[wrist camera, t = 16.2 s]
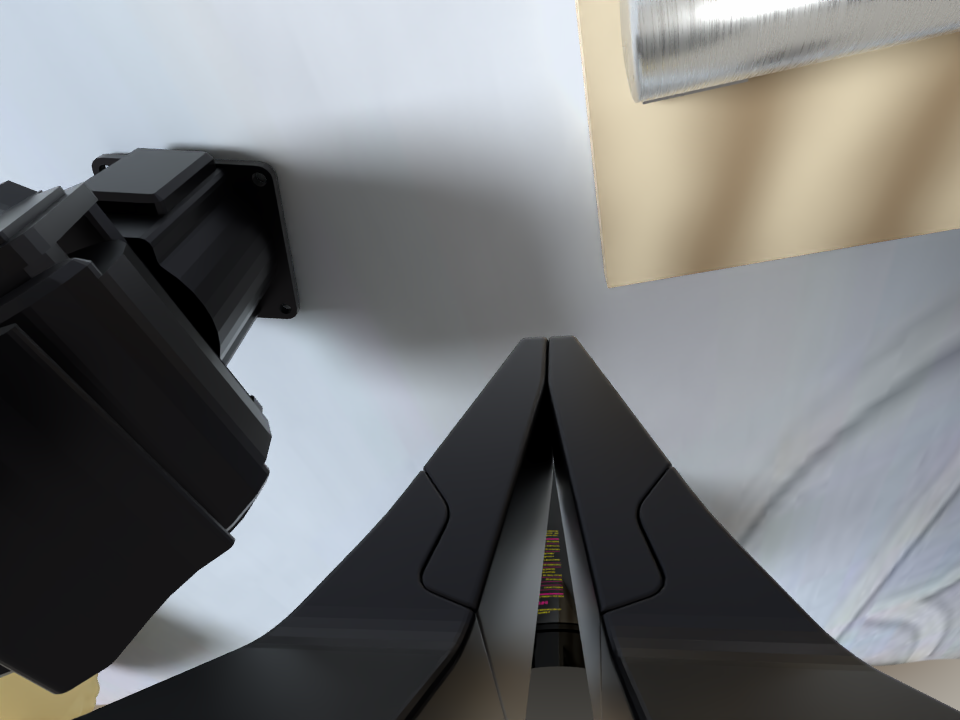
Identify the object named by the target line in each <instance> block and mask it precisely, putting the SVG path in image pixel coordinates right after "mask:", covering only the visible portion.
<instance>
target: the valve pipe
mask: <svg viewBox="0 0 960 720" xmlns="http://www.w3.org/2000/svg"><path fill="white" fill-rule="evenodd" d="M620 24H621V37H622V47H623V56H624V63H625V69H626V75H627V80H628V85H629V89H630V92H631V95H632V98H633V100H634V102H635V103H639V102H642V104H648V103H652V102H657V101H661V100H666V99H670V98H675V97H679V96H684V95H689V94H693V93H698V92H702V91H707V90H711V89H716V88H720V87H725V86H729V85H734V84H739V83H743V82H748V78H752V77H757V76H761V75H766V74H770V73H775V72H779V71H784V70H788V69H793V68H797V67H802V66H806V65H811V64H815V63H820V62H824V61H829V60H833V59H838V58H842V57H847V56H852V55H856V54H861V53H865V52H870V51H874V50H879V49H883V48H888V47H892V46H897V45H901V44H906V43H910V42H915V41H919V40H924V39H928V38H933V37H937V36H942V35H946V34H951V33H956V32H960V0H620Z"/></svg>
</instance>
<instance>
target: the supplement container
mask: <svg viewBox="0 0 960 720" xmlns="http://www.w3.org/2000/svg"><path fill="white" fill-rule="evenodd" d="M525 720H594V718H593V711H592V705H591V699H590V693H589V686H588V680H587V674H586V667H585V661H584V655H583V649H582V642H581V636H580V630H579V623H578V617H577V611H576V604H575V598H574V592H573V586H572V579H571V573H570V567H569V560H568V554H567V548H566V542H565V535H564V529H563V523H562V516H561V510H560V504H559V498H558V491H557V485H556V477H555V469H554V466H553V479H552V489H551V498H550V506H549V515H548V524H547V533H546V542H545V550H544V559H543V568H542V577H541V586H540V594H539V603H538V612H537V621H536V630H535V638H534V647H533V656H532V665H531V674H530V682H529V691H528V700H527V709H526V718H525Z"/></svg>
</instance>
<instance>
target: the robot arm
mask: <svg viewBox="0 0 960 720" xmlns="http://www.w3.org/2000/svg"><path fill="white" fill-rule="evenodd" d="M105 165H108V166H109V167H107V168H106V167H105ZM92 170H93V173H94V176H93V177H91V178H90V179H88V180H87V181H85V182H83V183H80V184H78V185H75V186H73V187H70V188H68V189H66V190H63V189H62V188H61V186H58V187H55V188H52V189H49V190H47V191H44V192H43V191H42V190H41V191H38V192H37V191H34V190H31V189H29V188H26V187H24V186H21V185H19V184H16V183H14V182H11V181H6V182H4V183H1V184H0V678H1V677H3V676H6V675H9V674H11V673H16V674H18V675H20V676H22V677H23V678H25V679H27V680H29V681H31V682H32V683H34V684H36V685H38V686H40V687H42V688H43V689H45V690H47V691H49V692H51V693H52V694H56V695H57V694H63V693H66V692H68V691H70V690H72V689H73V688H75V687H76V686H78V685H80V684H81V683H83V682H84V681H86V680H88V679H89V678H91V677H92V676H94V675H96V674H97V673H99V672H100V671H102V670H104V669H105V668H107V667H108V666H109V665H111V664H112V663H113V662H114V661H115V660H116V659H117V657H118V656H119V655H120V654H121V653H122V651H123V650H124V649H125V648H126V647H127V645H128V644H129V643H130V642H131V641H132V639H133V638H134V637H135V636H136V635H137V633H138V632H139V631H140V630H141V629H142V627H143V626H144V625H145V624H146V623H147V621H148V620H149V619H150V618H151V616H152V615H153V614H154V613H155V612H156V611H157V610H158V609H159V608H160V606H161V605H162V604H163V603H164V602H165V601H166V600H167V599H168V598H169V596H170V595H172V594H173V593H174V592H175V591H176V590H177V589H178V588H179V587H180V586H182V585H183V584H184V583H185V582H186V581H187V580H188V579H189V578H190V577H192V576H193V575H194V574H195V573H196V572H197V571H198V570H200V569H201V568H203V567H204V566H205V565H207V564H208V563H210V562H211V561H213V560H214V559H216V558H217V557H218V556H220V555H221V554H223V553H224V552H226V551H227V550H229V549H230V548H231V547H232V546H233V544H234V542H235V538H234V537H233V536H232V535H231V534H230V532H231V531H232V530H233V529H234V528H235V527H236V526H237V525H238V524H239V522H240V521H241V520H242V519H243V518H244V516H245V515H246V513H247V512H248V510H249V509H250V507H251V506H252V504H253V502H254V501H255V499H256V498H257V496H258V495H259V493H260V491H261V490H262V488H263V486H264V485H265V483H266V481H267V478H268V476H269V472H270V471H269V468H268V467H267V466H266V465H265V461H266V458H267V454H268V450H269V446H270V442H271V438H272V435H271V431H270V427H269V423H268V420H267V418H266V417H265V416H264V415H263V413H262V409H263V408H262V406H261V405H260V403H259V402H258V401H257V400H256V398H255V397H254V396H252V395H251V396H250V395H249V394H248V393H247V392H246V390H245V389H244V388H243V387H242V385H241V384H240V383H239V382H238V380H237V379H236V378H235V377H234V375H233V374H232V373H231V372H230V370H229V369H228V368H227V367H226V366H227V365H228V363H229V361H230V360H231V358H232V357H233V355H234V353H235V352H236V350H237V349H238V347H239V345H240V344H241V342H242V340H243V339H244V337H245V336H246V334H247V332H248V331H249V329H250V328H251V326H252V324H253V323H254V321H255V320H256V318H257V317H261V318H279V319H291V318H293V317H295V316H296V314H297V312H298V310H299V309H300V302H299V297H298V291H297V286H296V280H295V275H294V269H293V264H292V258H291V253H290V247H289V241H288V236H287V230H286V225H285V219H284V214H283V208H282V203H281V197H280V192H279V186H278V181H277V176H276V173H275V171H274V169H273V168H272V167H271V166H270V165H268V164H266V163H263V162H255V161H236V160H217V159H214V157H213V156H211V155H210V154H208V153H207V152H204V151H185V150H165V149H146V148H138V149H136V150H134V151H132V152H131V153H129V154H128V155H121V154H103V155H101V156H100V157H98V158H96V159H95V160H94V161H93V163H92ZM257 172H258V173H262V174H263V175H264V176H265V178H266V182H261V181H260V180H258V179H257V176H256V173H257ZM282 304H287V305H289V306H290V307H291V309H287V308H285V307H284V306H283V305H282ZM553 458H554V469H555V477H556V485H557V491H558V498H559V504H560V510H561V516H562V523H563V529H564V535H565V542H566V548H567V554H568V560H569V567H570V573H571V579H572V586H573V592H574V598H575V604H576V611H577V617H578V623H579V630H580V636H581V642H582V649H583V655H584V661H585V667H586V674H587V680H588V686H589V693H590V699H591V705H592V711H593V718H594V720H960V711H958V710H956V709H954V708H951V707H950V706H948V705H946V704H944V703H942V702H940V701H938V700H936V699H934V698H932V697H930V696H928V695H926V694H924V693H922V692H920V691H918V690H916V689H914V688H912V687H910V686H908V685H906V684H904V683H902V682H900V681H898V680H896V679H894V678H892V677H890V676H888V675H886V674H884V673H882V672H881V671H879V670H877V669H875V668H873V667H872V666H870V665H869V664H867V663H865V662H864V661H862V660H861V659H859V658H858V657H856V656H855V655H854V654H852V653H851V652H850V651H848V650H847V649H846V648H844V647H843V646H842V645H840V644H839V643H838V642H837V641H836V640H835V639H833V638H832V637H831V636H830V635H829V634H828V633H826V632H825V631H824V630H823V629H822V628H821V627H820V626H819V625H818V624H817V623H816V622H815V621H814V620H813V619H812V618H811V617H810V616H809V615H808V614H807V613H806V612H805V611H804V610H803V609H802V608H801V607H800V606H799V605H798V604H797V603H796V602H795V601H794V600H793V599H792V597H791V596H790V595H789V594H788V593H787V592H786V591H785V590H784V589H783V588H782V587H781V586H780V585H779V584H778V583H777V582H776V581H775V580H774V579H773V578H772V577H771V576H770V575H769V574H768V573H767V572H766V571H765V570H764V569H763V568H762V567H761V566H760V565H759V564H758V563H757V562H756V561H755V560H754V559H753V558H752V557H751V555H750V554H749V553H748V552H747V551H746V550H745V549H744V548H743V547H742V546H741V545H740V544H739V543H738V542H737V541H736V540H735V539H734V538H733V537H732V536H731V535H730V534H729V532H728V531H727V530H726V529H725V528H724V527H723V526H722V525H721V524H720V523H719V522H718V521H717V520H716V518H715V517H714V516H713V515H712V514H711V513H710V512H709V511H708V509H707V508H706V507H705V506H704V504H703V503H702V502H701V501H700V500H699V498H698V497H697V496H696V495H695V493H694V492H693V491H692V490H691V488H690V487H689V486H688V485H687V483H686V482H685V481H684V479H683V478H682V477H681V475H680V474H679V473H678V471H677V470H676V469H675V468H674V467H672V464H671V463H670V461H669V460H668V459H667V457H666V456H665V455H664V453H663V452H662V451H661V449H660V448H659V447H658V445H657V444H656V443H655V441H654V440H653V439H652V437H651V436H650V435H649V433H648V432H647V431H646V429H645V428H644V427H643V426H642V424H641V423H640V422H639V420H638V419H637V418H636V416H635V415H634V414H633V412H632V411H631V410H630V408H629V407H628V406H627V404H626V403H625V402H624V400H623V399H622V398H621V396H620V395H619V394H618V392H617V391H616V390H615V389H614V387H613V386H612V385H611V383H610V382H609V381H608V379H607V378H606V377H605V375H604V374H603V373H602V371H601V370H600V369H599V367H598V366H597V365H596V363H595V362H594V361H593V359H592V358H591V357H590V355H589V354H588V353H587V352H586V350H585V349H584V348H583V346H582V345H581V344H580V342H579V341H578V340H577V338H576V337H574V336H554V337H551V338H550V339H549V341H548V339H547V338H545V337H534V338H523V339H522V340H521V341H520V342H519V343H518V345H517V346H516V347H515V348H514V350H513V351H512V352H511V354H510V355H509V356H508V358H507V359H506V360H505V362H504V363H503V364H502V365H501V367H500V368H499V369H498V371H497V372H496V373H495V375H494V376H493V377H492V379H491V380H490V381H489V382H488V384H487V385H486V386H485V388H484V389H483V390H482V392H481V393H480V394H479V396H478V397H477V398H476V399H475V401H474V402H473V403H472V405H471V406H470V407H469V409H468V410H467V411H466V412H465V414H464V415H463V416H462V418H461V419H460V420H459V422H458V423H457V424H456V426H455V427H454V428H453V429H452V431H451V432H450V433H449V435H448V436H447V437H446V439H445V440H444V441H443V443H442V444H441V445H440V446H439V448H438V449H437V450H436V452H435V453H434V454H433V456H432V457H431V458H430V460H429V461H428V462H427V463H426V465H425V466H424V468H423V471H420V472H419V474H418V475H417V476H416V477H415V479H414V480H413V481H412V483H411V484H410V485H409V487H408V488H407V489H406V490H405V492H404V493H403V494H402V495H401V496H400V498H399V499H398V500H397V501H396V503H395V504H394V505H393V506H392V508H391V509H390V510H389V511H388V512H387V514H386V515H385V516H384V517H383V518H382V519H381V520H380V521H379V522H378V523H377V524H376V526H375V527H374V528H373V529H372V530H371V531H370V532H369V533H368V534H367V535H366V536H365V538H364V539H363V540H362V541H361V542H360V543H359V544H358V545H357V546H356V547H355V548H354V549H353V550H352V551H351V552H350V553H349V554H348V555H347V556H346V557H345V558H344V559H343V561H342V562H341V563H340V564H339V565H338V566H337V567H336V568H335V569H334V570H333V571H332V572H331V573H330V574H329V575H328V576H327V577H326V578H325V579H324V580H323V581H322V582H321V583H320V584H319V585H318V586H317V587H316V588H315V590H314V591H313V592H312V593H311V594H310V595H309V596H308V597H307V598H306V599H305V600H304V601H303V602H302V603H301V604H300V605H299V606H298V607H297V608H296V609H295V610H294V611H293V612H292V613H291V614H290V615H289V616H288V617H286V618H285V619H284V620H283V621H282V622H280V623H279V624H278V625H277V626H276V627H274V628H273V629H272V630H270V631H269V632H267V633H266V634H265V635H263V636H262V637H260V638H258V639H257V640H255V641H253V642H251V643H250V644H247V645H245V646H243V647H241V648H239V649H237V650H234V651H232V652H230V653H227V654H225V655H223V656H220V657H218V658H216V659H213V660H211V661H209V662H206V663H204V664H202V665H199V666H197V667H195V668H192V669H190V670H188V671H185V672H183V673H181V674H178V675H176V676H174V677H171V678H169V679H167V680H164V681H162V682H160V683H157V684H155V685H153V686H150V687H148V688H146V689H143V690H141V691H139V692H136V693H134V694H132V695H129V696H127V697H125V698H122V699H120V700H118V701H115V702H113V703H111V704H108V705H106V706H104V707H102V708H99V709H97V710H95V711H92V712H90V713H87V714H85V715H82V716H79V717H77V718H74V719H72V720H525V718H526V709H527V700H528V691H529V682H530V674H531V665H532V656H533V647H534V638H535V630H536V621H537V612H538V603H539V594H540V586H541V577H542V568H543V559H544V550H545V542H546V533H547V524H548V515H549V506H550V498H551V489H552V479H553Z"/></svg>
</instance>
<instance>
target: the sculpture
mask: <svg viewBox="0 0 960 720" xmlns="http://www.w3.org/2000/svg"><path fill="white" fill-rule="evenodd" d="M97 677H98V673H97V674H96V675H94V676H92V677H91V678H89V679H88V680H86V681H84V682H83V683H81V684H80V685H78V686H76V687H75V688H73V689H72V690H70V691H68V692H66V693H63V694H57V695H56V694H52V693H51V692H49V691H47V690H45V689H43V688H42V687H40V686H38V685H36V684H34V683H32V682H31V681H29V680H27V679H25V678H23V677H22V676H20V675H18V674H16V673H11V674H9V675H6V676H3V677H1V678H0V720H72V719H74V718H77V717H79V716H82V715H85V714H87V713H90V712H92V711H93V709H94V707H95V705H96V697H97V695H98V693H99V690H100V687H99V683H98V680H97Z"/></svg>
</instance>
